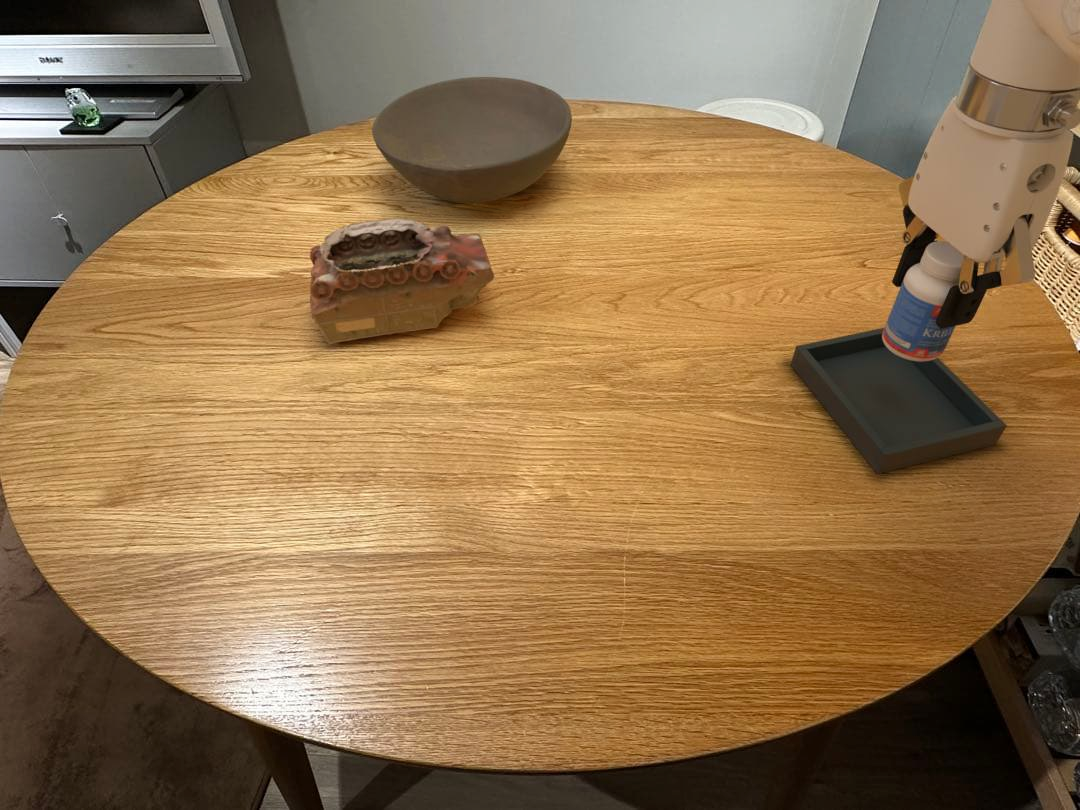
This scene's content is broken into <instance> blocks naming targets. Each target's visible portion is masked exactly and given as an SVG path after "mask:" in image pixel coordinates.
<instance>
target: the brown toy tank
mask: <svg viewBox="0 0 1080 810" xmlns="http://www.w3.org/2000/svg"><path fill="white" fill-rule="evenodd" d="M323 241H324V242H322V243H321V244H317V245H315V246H313V247H311V248H310V252H309V259H310V261H311V263H312V268H311V269H310V285H309V286H310V290H309V292H310V296H309V302H310V304H309V305H310V314H311V315H310V316H311V319H312V320H314V322H315V324H316V325H317V327H318V328H319V330H320V332H321V333H322V334H323V338H324V340H325V341H326V342H327V343H328V344H330V345H332V344H335V343H341V342H348V341H355V340H359V339H365V338H373V337H379V336H384V335H385V336H386V335H388V336H389V335H392V334H399V333H406V332H414V331H420V330H427V329H428V330H429V329H434V328H436V329H437V328H438V327H439V326H440V323H441V322H442V320H443V319H444V318H447V317H448V316H449V315H450V314H452V312H453V310H456V309H463V308H469V307H471V306H474V305H475V304H476V303H477V302H478V301H480V296H479V294H480V292H481V291H482V289H483V288H484V289H485V287H487V285H488V284H490V283H491V282H492V281H494V278H495V274H494V271H493V269H492V265H491V263H490V259H489V256H488V254H487V251H486V250H487V249H486V248H485V246H484V242H483V239H482V235H480V233H467V234H466V233H465V234H458V235H454V234H452V229H450V227H449V226H448V225H446V224H440V225H437V226H430V227H429V226H427V225H425V223H424V222H420V221H418V220H415V219H409V218H406V217H405V218H402V217H391V218H380V219H376V220H364V221H360V222H355V223H352V224H349V225H343V226H342V227H339V228H338V229H335V230H334V231H331V232H330V233H329V234H328V235H326V236H325V237H324V240H323Z"/></svg>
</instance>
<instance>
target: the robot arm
mask: <svg viewBox="0 0 1080 810" xmlns="http://www.w3.org/2000/svg"><path fill="white" fill-rule="evenodd" d="M1079 102H1080V0H991V2H990V5H989V8H988V11H987V13H986V15H985V19H984V21H983V24H982V26H981V29H980V32H979V34H978V38H977V40H976V43H975V45H974V48H973V51H972V54H971V57H970V60H969V62H968V65H967V68H966V71H965V72H964V76H963V79H962V81H961V84H960V87H959V89H958V92H957V95H956V96H954V97H952V98H951V100H950V102H949V103H948V106H947V107H946V109H945V110H944V112H943V114H942V115H941V117H940V119H939V121H938V122H937V124H936V126H935V128H934V130H933V132H932V134H931V136H930V138H929V141H928V142H927V145H926V147H925V149H924V152H923V153H922V156H921V158H920V161H919V163H918V165H917V168H916V171H915V173H914V175H911V176H909V177H908V178H907V179H904V180H903V181H902V182H900V184H899V185H898V191H899V194H900V195H899V196H900V200H901V204H902V207H903V210H902V216H903V220H904V226H905V230H904V231H903V232H902V235H901V238H902V242H903V243H904V244H905V246H904V248H903V251H902V253H901V256H900V259H899V262H898V265H897V267H896V270H895V273H894V275H893V278H892V281H891V284H893V285H894V287H896V288H900V287H901V285H902V282H903V280H904V277H905V275H906V273H907V271H908V270H909V269H910V268H911V267H912V266H914V265H916V264H918V263H920V261H921V258H922V256H923V254H924V252H925V249H926V247H927V246H928V245H929V244H931V243H933V242H937V241H938V240H937V239H938V238H939V237H940V238H942V239H944V241H947V242H949V243H950V244H951V245H952V246H954V247H955V248H956V249H957V250H959V251H960V252H961V253H962V254H963V259H962V266H961V273H960V280H959V285H956V286H953V287H951V288H950V290H949V292H948V294H947V297H946V299H945V301H944V303H943V306H942V308H941V310H940V313H939V315H938V317H937V319H936V325H937V326H938V327H939V328H941V329H943V328H948V327H953V326H962V325H966V324H970V322H972V321H973V319H974V318H975V316H976V315H977V312H978V310H979V308H980V306H981V303H982V302H983V300H984V297H985V295H986V293H987V291H988V290H992V289H996V288H1000V287H1006V286H1007V287H1008V286H1012V285H1018V284H1023V283H1029V282H1032V281H1034V279H1035V277H1036V271H1035V270H1036V269H1035V264H1034V258H1033V250H1034V248H1035V246H1036V244H1037V242H1038V240H1039V238H1040V236H1041V234H1042V232H1043V230H1044V228H1045V226H1046V224H1047V221H1048V219H1049V216H1050V213H1051V212H1052V209H1053V206H1054V205H1055V201H1056V199H1057V197H1058V193H1059V190H1060V188H1061V185H1062V183H1063V179H1064V176H1065V173H1066V170H1067V167H1068V163H1069V160H1070V156H1071V151H1072V147H1073V142H1074V141H1073V140H1074V135H1075V134H1074V133H1073V132H1072V131H1071V130H1073V129H1075V128H1076V127H1077V126H1079V125H1080V108H1079V107H1078V105H1079ZM1004 258H1005V267H1004V268H1003V261H1004ZM980 264H984V266H983V271H982V272H983V273H982V274H978V273H979V267H980Z"/></svg>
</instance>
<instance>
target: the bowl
mask: <svg viewBox="0 0 1080 810" xmlns="http://www.w3.org/2000/svg"><path fill="white" fill-rule="evenodd" d="M572 122H573V116H572V109H571V107H570V105H569V104H568V102H567V101H566V99H565V98H563V97H562V96H561V95H560V94H559V93H557V92H556V91H555V90H552V89H550V88H548V87H545V86H543V85H539V84H537V83H534V82H531V81H527V80H523V79H518V78H510V77H501V76H500V77H498V76H471V77H460V78H459V77H458V78H453V79H447V80H443V81H439V82H436V83H431V84H427V85H425V86H422V87H419V88H416V89H413V90H411V91H409V92H407V93H405V94H403V95H401V96H399V97H397V99H394V100H393V101H391V103H389V104H388V105H387V106H386V107H384V109H382V111H380V112H379V114H378V115H377V116H376V118H375V119H374V121H373V123H372V127H371V133H372V138H373V140H374V143H375V145H376V147H377V149H378V150H379V152H380V153H381V155H382V156H383V158H384V159H385V161H387V163H388V164H389V165H390V166H391V167H392V168H393V169H394V170H395V171H396V172H397V173H398V174H399V175H400V176H401V177H402V178H403V179H405V180H406V181H407V182H408V183H410V184H411V185H413V186H414V187H416V188H417V189H419V190H422V191H423V192H425V193H427V194H429V195H431V196H434V197H437V198H439V199H441V200H445V201H448V202H452V203H455V204H465V205H466V204H467V205H469V204H471V205H473V204H474V205H475V204H484V203H488V202H493V201H498V200H501V199H505V198H508V197H510V196H514V195H516V194H517V193H520V192H522V191H524V190H526V189H527V188H528V187H531V185H533V184H535V183H536V182H537V181H538V180H539V179H540V178H541V177H542V176H543V175H545V173H546V172H547V171H548V170H549V169H550V168H551V167H552V165H553V164H554V163H555V162H556V161H557V159H558V158H559V156H560V155H561V153H562V152H563V149H564V147H565V146H566V144H567V141H568V139H569V135H570V133H571V132H570V131H571V128H572Z"/></svg>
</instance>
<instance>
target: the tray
mask: <svg viewBox="0 0 1080 810" xmlns="http://www.w3.org/2000/svg"><path fill="white" fill-rule="evenodd" d="M883 330H884V327H881V328H877V329H872V330H867V331H862V332H857V333H852V334H847V335H843V336H837V337H833V338H828V339H824V340H823V339H822V340H818V341H813V342H808V343H805V344H803V343H802V344H799V345H796V346H795V349H794V352H793V355H792V359H791V363H790V366H791V367H792V369H793V370H794V371H795V373H797V375H798V377H799V378H800V379H801V380H802V382H804V384H805V385H806V386H807V388H808V389H809V390H810V391H811V392H812V394H813V395H814V397H815V398H816V399H817V400H818V401H819V402H820V405H822V407H823V408H824V409H825V410H826V411H827V413H828V414H829V415H830V417H831V418H832V419H833V420H834V422H835V423H836V424H837V425H838V427H839V428H840V429H841V430H842V432H843V433H844V434H845V436H846V437H847V438H848V439H849V441H850V442H851V444H853V446H854V447H855V448H856V449H857V451H858V452H859V453H860V455H861V456H862V457H863V458H864V459H865V460H866V462H867V463H868V464H869V466H870V467H871V468H872V470H874V472H875V473H876V474H877V475H879V474H883V473H887V472H891V471H895V470H899V469H903V468H907V467H911V466H916V465H919V464H924V463H929V462H931V461H935V460H936V461H937V460H940V459H944V458H947V457H952V456H955V455H960V454H963V453H967V452H968V453H969V452H972V451H976V450H981V449H983V448H984V449H985V448H988V447H991V446H992V447H993V446H996V445H997V443H998V441H999V440H1000V438H1001V437H1002V435H1003V433H1004V432H1005V430H1006V428H1007V427H1008V425H1007V424H1006V423H1005V422H1004V421H1003V420H1002V419H1001V418H1000V417H999V416H998V415H997V414H996V413H995V412H994V411H993V410H992V409H991V408H990V406H989V407H988V405H987V404H986V403H985V402H984V401H983V400H982V399H981V398H979V396H978V395H977V394H976V393H975V392H974V391H973V390H971V388H969V387H968V385H966V384H965V383H964V382H963V381H962V380H961V378H960V377H958V376H957V374H955V373H954V372H953V371H952V370H951V369H950V368H949V367H948V366H947V365H946V364H945V363H944V362H943V361H942V360H941V359H940V358H939V357H938V358H936V359H934V360H930V361H912V360H907V359H904V358H902V357H899V356H897V355H896V354H894V353H893V352H891V351H890V350H889V349H888V348H887V347H886V346H885V344H884V342H883V339H882V334H883Z"/></svg>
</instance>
